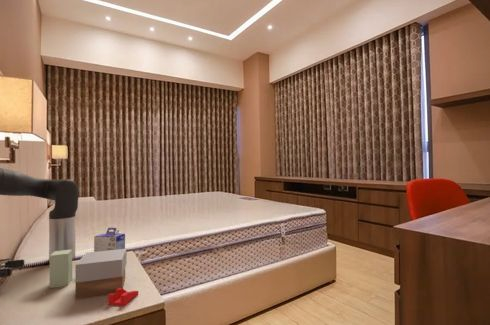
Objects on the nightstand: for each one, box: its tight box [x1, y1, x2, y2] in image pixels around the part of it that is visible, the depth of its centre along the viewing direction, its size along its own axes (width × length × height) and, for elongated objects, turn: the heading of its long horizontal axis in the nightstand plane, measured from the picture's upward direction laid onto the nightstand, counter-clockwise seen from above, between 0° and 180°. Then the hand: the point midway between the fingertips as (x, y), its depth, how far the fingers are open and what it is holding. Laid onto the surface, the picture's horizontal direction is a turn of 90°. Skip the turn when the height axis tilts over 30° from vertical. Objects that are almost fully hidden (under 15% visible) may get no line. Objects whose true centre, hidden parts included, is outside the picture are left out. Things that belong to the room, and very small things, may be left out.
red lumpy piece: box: [108, 287, 139, 307], centre depth 74 cm, size 6×5×3 cm
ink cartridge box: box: [93, 227, 126, 252], centre depth 100 cm, size 10×6×14 cm, turn 78°
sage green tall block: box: [49, 249, 73, 289], centre depth 85 cm, size 5×5×10 cm
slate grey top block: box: [74, 248, 128, 284], centre depth 82 cm, size 12×12×5 cm
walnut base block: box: [75, 268, 126, 301], centre depth 82 cm, size 12×12×5 cm
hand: (18, 267), depth 81 cm, fingers open, 8 cm apart
